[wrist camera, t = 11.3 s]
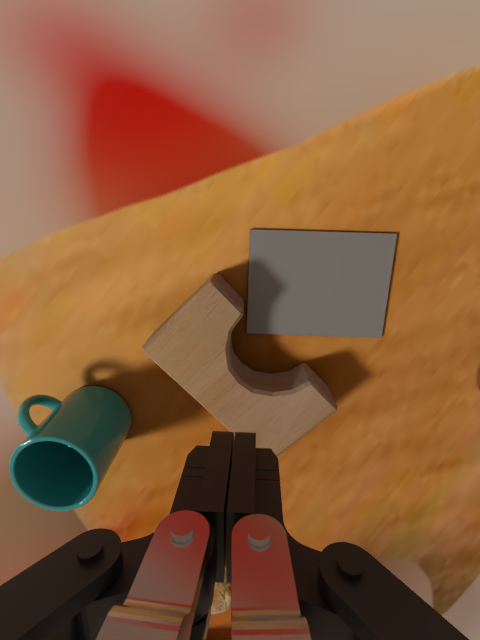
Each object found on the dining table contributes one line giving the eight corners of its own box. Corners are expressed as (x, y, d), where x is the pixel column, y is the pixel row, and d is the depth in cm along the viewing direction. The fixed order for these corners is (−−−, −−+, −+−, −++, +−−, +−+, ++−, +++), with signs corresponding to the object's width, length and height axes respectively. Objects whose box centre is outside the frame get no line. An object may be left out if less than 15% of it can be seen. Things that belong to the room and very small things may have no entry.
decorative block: (212, 278, 35) (340, 409, 39) (216, 270, 41) (328, 385, 44) (138, 350, 37) (266, 467, 41) (151, 334, 43) (263, 438, 47)
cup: (74, 354, 44) (17, 399, 33) (147, 415, 46) (116, 476, 35) (31, 399, 46) (-35, 456, 35) (103, 456, 48) (62, 526, 37)
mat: (395, 233, 39) (397, 233, 38) (380, 336, 42) (381, 337, 42) (250, 229, 39) (250, 229, 39) (246, 332, 42) (246, 333, 42)
